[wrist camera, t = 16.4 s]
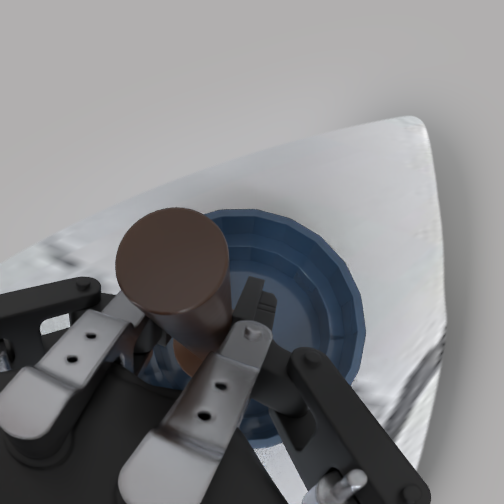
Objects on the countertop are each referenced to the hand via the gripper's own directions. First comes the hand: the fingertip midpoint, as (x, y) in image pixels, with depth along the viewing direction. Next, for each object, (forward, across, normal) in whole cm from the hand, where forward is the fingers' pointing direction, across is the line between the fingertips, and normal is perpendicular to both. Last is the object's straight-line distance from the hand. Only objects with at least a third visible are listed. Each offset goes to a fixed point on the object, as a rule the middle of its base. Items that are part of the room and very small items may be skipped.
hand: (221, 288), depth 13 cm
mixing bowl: (+7, -1, +7) cm, 10 cm away
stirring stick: (+3, 0, +6) cm, 7 cm away
